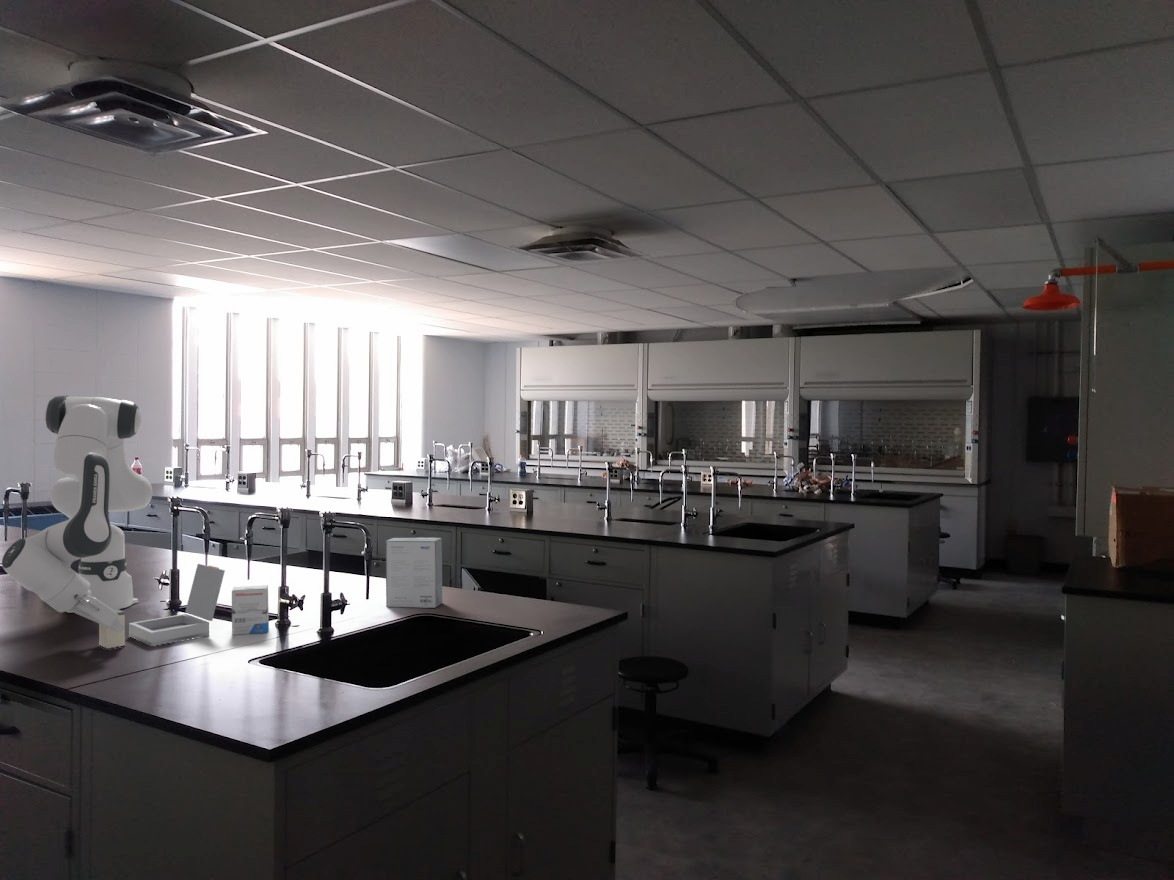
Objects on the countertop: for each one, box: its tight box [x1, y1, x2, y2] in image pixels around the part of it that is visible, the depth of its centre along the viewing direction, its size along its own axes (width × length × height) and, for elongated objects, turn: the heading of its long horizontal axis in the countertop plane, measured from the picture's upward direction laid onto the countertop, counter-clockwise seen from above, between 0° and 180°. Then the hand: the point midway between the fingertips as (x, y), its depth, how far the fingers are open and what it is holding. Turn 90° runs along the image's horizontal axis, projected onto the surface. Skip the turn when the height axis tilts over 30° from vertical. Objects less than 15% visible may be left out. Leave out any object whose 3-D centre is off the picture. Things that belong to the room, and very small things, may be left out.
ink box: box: [231, 584, 270, 636], centre depth 214 cm, size 9×5×12 cm, turn 106°
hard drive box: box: [385, 537, 443, 609], centre depth 247 cm, size 16×8×20 cm, turn 84°
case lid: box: [184, 563, 226, 622], centre depth 216 cm, size 14×13×2 cm
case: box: [128, 613, 210, 647], centre depth 209 cm, size 14×14×4 cm
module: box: [98, 609, 126, 648], centre depth 200 cm, size 5×4×8 cm
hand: (114, 626), depth 201 cm, fingers open, 8 cm apart
